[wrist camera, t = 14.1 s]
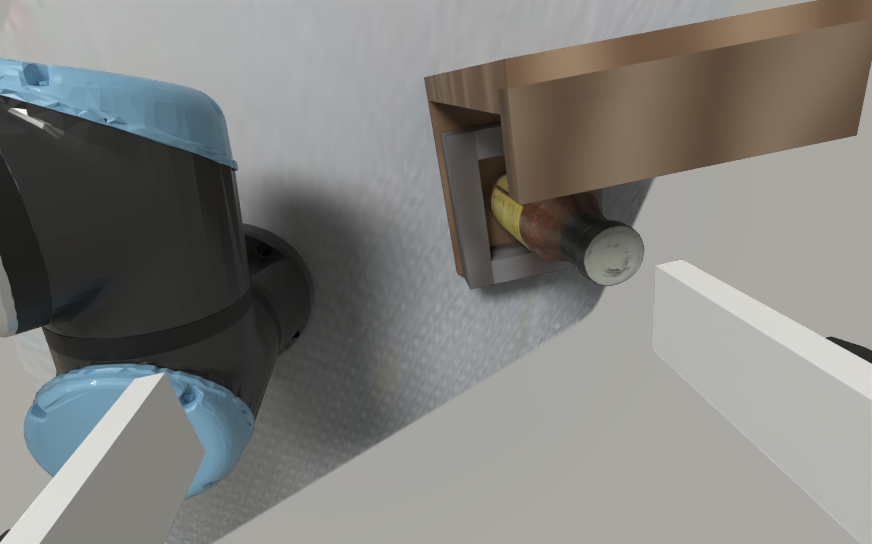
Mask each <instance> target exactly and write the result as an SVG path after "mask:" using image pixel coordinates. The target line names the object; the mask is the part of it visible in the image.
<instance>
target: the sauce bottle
mask: <svg viewBox="0 0 872 544" xmlns="http://www.w3.org/2000/svg"><path fill="white" fill-rule="evenodd" d="M489 205H490V210H491V212H492V214H493V215H494V216H495V218H496V220H497V221H498V222H499V224H501V225H502V226H503V227H504V228H505V229H506V230H508V231H509V232H510V233H511V234H512V235H513V236H514V237H515V238H516V239H518V240H519V241H520V242H521V243H522V244H524V245H525V246H526V247H527V248H528V249H530V250H531V251H532V252H533V253H535V254H537V255H538V256H539V257H541V258H542V259H543V260H544V261H546V262H547V263H549V262H555V261H567V262H570V263H572V264H575V265H576V266H578V269H579V271H580V272H581V274H582V275H584V276H585V277H587V278H588V279H590V280H591V281H593V282H594V283H596V284H600V285H603V286H612V285H616V284H619V283H622V282H624V281H625V280H627V279H629V278H630V277H631V276H632V275H633V274H634V273H636V272H637V270H638V268H639V267H640V265H641V263H642V260H643V255H644V245H643V241H642V239H641V237H640V235H639V234H638V233H637V232H636V231H635V230H634V229H633V228H631V227H629V226H627V225H625V224H624V223H621V222H617V221H609V220H607V219H606V218H605V217H603V215H602V212H601V210H600V208H599V205H598V201H597V199H596V198H595V197H594V196H593V195H592V194H590V193H588V192H580V193H576V194H571V195H566V196H561V197H556V198H551V199H547V200H542V201H537V202H532V203H527V204H522V205H519V204H517V203H516V202H515V201H514V200H512V199H511V198H510V197H509V191H508V182H507V173H504V174H503V175H502V176H501V177H500V178H498V179H497V181H496V182H495V183H494V184H493V186H492V188H491V190H490V195H489Z"/></svg>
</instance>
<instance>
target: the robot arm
mask: <svg viewBox="0 0 872 544" xmlns="http://www.w3.org/2000/svg"><path fill="white" fill-rule="evenodd" d="M235 171H238V165H237V163H236V161H234V160H233V157H232V152H231V147H230V142H229V136H228V131H227V126H226V121H225V117H224V115H223V112H222V110H221V109H220V107H219V106H218V104H217V103H216V102H215V101H214V100H213V99H212V98H210V97H209V96H208V95H206V94H205V93H203V92H201V91H198V90H196V89H193V88H190V87H186V86H181V85H177V84H172V83H167V82H162V81H157V80H151V79H146V78H140V77H134V76H128V75H122V74H115V73H109V72H102V71H95V70H88V69H81V68H73V67H65V66H57V65H56V66H47V65H44V64H38V63H28V62H20V61H16V60H10V59H2V58H0V337H9V336H13V335H16V334H19V333H22V332H26V331H29V330H32V329H35V328H39V327H42V329H43V332H44V335H45V337H46V340H47V343H48V346H49V349H50V352H51V355H52V358H53V361H54V364H55V367H56V371H57V372H56V377H55V378H53V379H52V380H51V381H50V382H48V383H47V384H45V385H44V386H43V387H42V388H41V389H40V390H39V391H38V392H37V394H36V397H35V399H34V401H33V405H32V406H31V407H30V409H29V410H28V412H27V414H26V417H25V421H24V437H25V442H26V445H27V447H28V449H29V451H30V453H31V455H32V456H33V457H34V459H35V460H36V462H37V463H38V464H39V465H40V466H41V467H42V468H43V469H44V470H45V471H46V472H47V473H48V474H50V475H51V476H52V477H54V478H53V479H52V480H51V481H50V483H49V484H48V485H47V486H46V487H45V489H44V490H43V491H42V492H41V493H40V495H39V496H38V497H37V498H36V500H35V501H34V502H33V503H32V504H31V506H30V507H29V508H28V509H27V510H26V512H25V513H24V514H23V515H22V517H21V518H20V519H19V520H18V521H17V523H16V524H15V525H14V527H13V528H12V529H9V530H7V531H6V532H4V533H3V534H2V535H1V536H0V544H164V543H165V540H166V538H167V536H168V534H169V532H170V530H171V527H172V525H173V523H174V521H175V519H176V516H177V514H178V512H179V510H180V508H181V506H182V503H183V501H184V499H186V498H189V497H192V496H195V495H197V494H200V493H202V492H204V491H206V490H208V489H209V488H211V487H213V486H214V485H215V484H216V483H217V482H218V481H220V480H221V479H222V478H223V477H225V476H227V475H228V474H229V473H230V471H231V470H232V469H233V468H234V466H235V465H236V463H237V461H238V460H239V458H240V456H241V453H242V451H243V450H244V448H245V446H246V444H247V443H248V441H249V439H250V438H251V436H252V434H253V432H254V423H255V420H256V417H257V414H258V411H259V408H260V405H261V402H262V399H263V396H264V393H265V390H266V388H267V385H268V382H269V379H270V376H271V373H272V370H273V367H274V364H275V361H276V358H277V357H278V356H280V355H281V354H282V353H283V352H284V351H286V350H287V349H288V348H289V347H290V346H292V345H293V344H294V343H295V342H296V340H297V339H298V338H299V337H300V335H301V334H302V332H303V331H304V329H305V327H306V325H307V322H308V320H309V316H310V313H311V309H312V305H313V285H312V280H311V277H310V274H309V271H308V269H307V267H306V265H305V263H304V262H303V260H302V259H301V257H300V256H299V255H298V253H297V252H296V251H295V250H294V249H293V248H292V247H291V246H290V245H289V244H287V243H286V242H285V241H284V240H282V239H281V238H279V237H278V236H276V235H274V234H273V233H271V232H269V231H267V230H264V229H262V228H259V227H256V226H252V225H248V224H243V223H242V216H241V209H240V202H239V195H238V188H237V182H236V175H235ZM654 290H655V291H654V325H653V351H654V352H655V353H656V354H657V355H658V356H660V357H661V358H662V359H663V360H664V361H665V362H666V363H667V364H668V365H669V366H670V367H671V368H672V369H674V370H675V371H676V372H677V373H678V374H679V375H680V376H681V377H682V378H683V379H684V380H685V381H687V382H688V383H689V384H690V385H691V386H692V387H693V388H694V389H695V390H696V391H697V392H698V393H700V395H701V396H703V397H704V398H705V399H706V400H707V401H708V402H709V403H710V404H711V405H712V406H713V407H714V408H715V409H717V410H718V411H719V412H720V413H721V414H722V415H723V416H724V417H725V418H726V419H728V421H729V422H731V423H732V424H733V425H734V426H735V427H736V428H737V429H738V430H739V431H740V432H741V433H742V434H743V435H744V436H745V437H747V438H748V439H749V440H750V441H751V442H752V443H753V444H754V445H755V446H756V447H757V448H758V449H759V450H761V451H762V452H763V453H764V454H765V455H766V456H767V457H768V458H769V459H770V460H771V461H772V462H773V463H774V464H776V465H777V466H778V467H779V468H780V469H781V470H782V471H783V472H784V473H785V474H786V475H788V476H789V477H790V478H791V479H792V480H793V481H794V482H795V483H796V484H797V485H798V486H799V487H800V488H801V489H802V490H804V491H805V492H806V493H807V494H808V495H809V496H810V497H811V498H812V499H813V500H814V501H815V502H816V503H817V504H819V505H820V506H821V507H822V508H823V509H824V510H825V511H826V512H827V513H828V514H829V515H830V516H832V517H833V518H834V519H835V520H836V521H837V522H838V523H839V524H840V525H841V526H842V527H843V528H844V529H845V530H846V531H848V532H849V533H850V534H851V535H852V536H853V537H854V538H855V539H856V540H857V541H858V542H859V543H861V544H872V351H871V350H869V349H867V348H865V347H862V346H859V345H856V344H853V343H850V342H847V341H844V340H841V339H837V338H834V337H827V338H824V337H822V336H820V335H818V334H817V333H815V332H813V331H811V330H809V329H807V328H805V327H804V326H802V325H800V324H798V323H797V322H795V321H793V320H791V319H789V318H787V317H786V316H784V315H782V314H780V313H778V312H777V311H775V310H773V309H771V308H769V307H767V306H766V305H764V304H762V303H760V302H758V301H757V300H755V299H753V298H751V297H749V296H747V295H746V294H744V293H742V292H740V291H738V290H737V289H735V288H733V287H731V286H729V285H727V284H726V283H724V282H722V281H720V280H718V279H716V278H714V277H713V276H711V275H709V274H707V273H705V272H704V271H702V270H700V269H698V268H696V267H695V266H693V265H691V264H689V263H687V262H686V261H684V260H677V261H672V262H668V263H664V264H659V265H655V287H654Z"/></svg>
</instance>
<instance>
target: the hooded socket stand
mask: <svg viewBox="0 0 872 544" xmlns="http://www.w3.org/2000/svg"><path fill="white" fill-rule="evenodd" d="M871 61H872V0H816V1H811V2H806V3H800V4H795V5H790V6H785V7H779V8H774V9H769V10H763V11H758V12H753V13H747V14H743V15H737V16H731V17H726V18H721V19H715V20H710V21H705V22H700V23H694V24H689V25H684V26H678V27H673V28H668V29H662V30H657V31H652V32H646V33H641V34H636V35H631V36H625V37H620V38H615V39H609V40H604V41H599V42H593V43H588V44H583V45H577V46H572V47H567V48H561V49H556V50H551V51H546V52H540V53H535V54H530V55H524V56H519V57H514V58H508V59H503V60H499V61H495V62H490V63H486V64H482V65H477V66H473V67H468V68H464V69H460V70H455V71H451V72H447V73H442V74H438V75H433V76H429V77H425V78H424V80H425V86H426V92H427V98H428V104H429V110H430V116H431V121H432V127H433V133H434V139H435V145H436V151H437V157H438V163H439V169H440V175H441V181H442V187H443V193H444V199H445V205H446V211H447V217H448V222H449V228H450V234H451V240H452V246H453V252H454V258H455V264H456V270H457V273H458V275H461V274H463V275H464V278H465V280H466V282H467V284H468V286H469V288H470V289H474V288H479V287H483V286H488V285H493V284H497V283H502V282H506V281H511V280H516V279H520V278H525V277H530V276H534V275H539V274H543V273H548V272H553V271H557V270H562V269H567V268H571V267H576V265H575V264H572V263H570V262H567V261H555V262H549V263H547V262H546V261H544V260H543V259H542V258H541V257H539V256H538V255H537V254H535V253H533V252H532V251H531V250H530V249H528V248H527V247H526V246H525V245H524V244H522V243H521V242H520V241H519V240H518V239H516V238H515V237H514V236H513V235H512V234H511V233H510V232H509V231H508V230H506V229H505V228H504V227H503V226H502V225H501V224H499V222H498V221H497V220H496V218H495V216H494V215H493V214H492V212H491V210H490V205H489V195H490V190H491V188H492V186H493V184H494V183H495V182H496V181H497V179H498V178H500V177H501V176H502V175H503V174H504V173H507V182H508V191H509V197H510V198H511V199H512V200H514V201H515V202H516V203H517V204H519V205H522V204H527V203H532V202H537V201H542V200H547V199H551V198H556V197H561V196H566V195H571V194H576V193H580V192H588V193H590V194H592V195H593V196H594V197H595V198H596V199H597V201H598V205H599V208H600V210H601V212H602V188H605V187H609V186H614V185H619V184H624V183H629V182H634V181H638V180H643V179H648V178H653V177H657V176H662V175H667V174H672V173H677V172H682V171H686V170H691V169H696V168H701V167H706V166H711V165H715V164H720V163H725V162H730V161H735V160H740V159H745V158H749V157H754V156H759V155H764V154H769V153H774V152H778V151H783V150H788V149H793V148H798V147H803V146H807V145H812V144H817V143H822V142H826V141H832V140H836V139H841V138H846V137H850V136H856V135H857V131H858V126H859V121H860V116H861V111H862V106H863V101H864V96H865V91H866V86H867V81H868V76H869V71H870V66H871Z"/></svg>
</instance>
